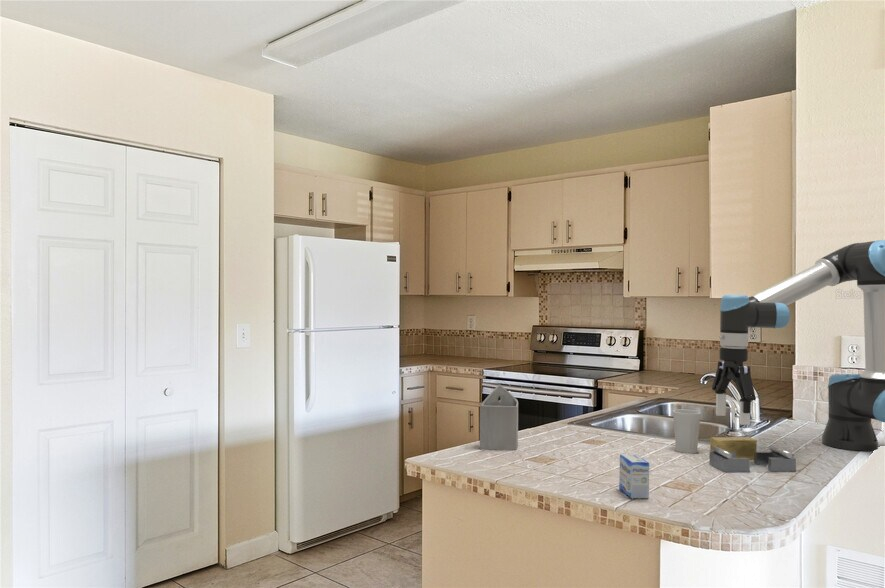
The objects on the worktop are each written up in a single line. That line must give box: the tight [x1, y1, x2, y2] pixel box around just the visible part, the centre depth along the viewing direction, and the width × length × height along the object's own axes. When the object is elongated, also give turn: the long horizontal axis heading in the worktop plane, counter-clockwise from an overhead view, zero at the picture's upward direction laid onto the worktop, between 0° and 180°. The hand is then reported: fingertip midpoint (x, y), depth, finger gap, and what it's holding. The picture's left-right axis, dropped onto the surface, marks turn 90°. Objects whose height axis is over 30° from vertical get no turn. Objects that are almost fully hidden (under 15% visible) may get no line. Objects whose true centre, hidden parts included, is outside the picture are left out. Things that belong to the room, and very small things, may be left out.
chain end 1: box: [708, 446, 751, 473], centre depth 175 cm, size 7×8×5 cm
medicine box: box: [618, 453, 650, 499], centre depth 151 cm, size 8×4×9 cm, turn 5°
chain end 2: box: [753, 445, 797, 473], centre depth 176 cm, size 7×8×5 cm
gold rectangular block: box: [709, 436, 758, 461], centre depth 186 cm, size 12×4×6 cm, turn 95°
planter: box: [479, 384, 519, 451], centre depth 197 cm, size 16×8×19 cm, turn 129°
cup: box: [672, 408, 701, 454], centre depth 195 cm, size 8×8×12 cm
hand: (732, 419), depth 186 cm, fingers open, 13 cm apart
